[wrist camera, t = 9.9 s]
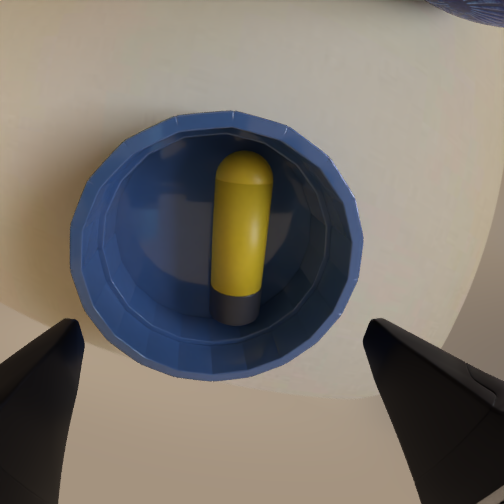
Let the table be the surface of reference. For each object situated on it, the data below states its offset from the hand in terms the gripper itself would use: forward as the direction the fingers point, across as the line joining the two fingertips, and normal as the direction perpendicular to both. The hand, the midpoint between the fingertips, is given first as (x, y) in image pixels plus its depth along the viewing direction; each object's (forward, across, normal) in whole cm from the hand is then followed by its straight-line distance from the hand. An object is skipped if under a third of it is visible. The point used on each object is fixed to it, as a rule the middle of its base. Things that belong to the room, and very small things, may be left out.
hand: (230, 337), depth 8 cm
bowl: (+9, 0, 0) cm, 9 cm away
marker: (+7, 0, 0) cm, 7 cm away
